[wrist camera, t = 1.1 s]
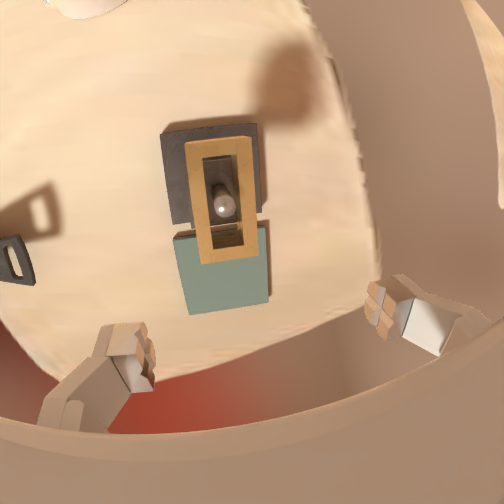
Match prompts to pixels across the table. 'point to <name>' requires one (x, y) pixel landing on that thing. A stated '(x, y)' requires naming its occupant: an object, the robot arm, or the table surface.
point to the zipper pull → (3, 268)
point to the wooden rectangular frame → (246, 236)
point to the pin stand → (206, 174)
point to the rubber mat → (221, 277)
